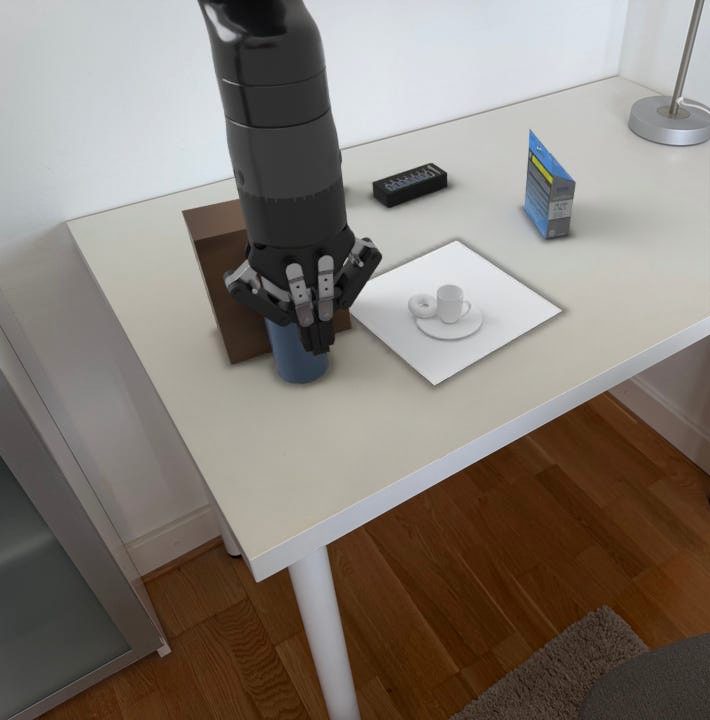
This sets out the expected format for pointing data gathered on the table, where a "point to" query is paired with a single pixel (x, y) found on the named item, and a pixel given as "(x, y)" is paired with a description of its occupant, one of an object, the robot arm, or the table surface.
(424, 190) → the multiport hub
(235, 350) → the walnut block
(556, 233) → the blue grey carton
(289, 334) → the blue cylinder
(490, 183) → the table surface
